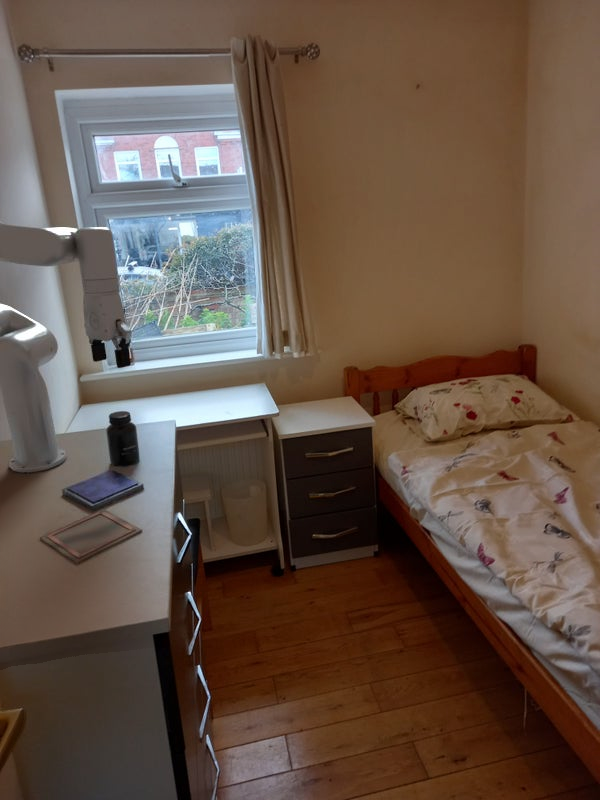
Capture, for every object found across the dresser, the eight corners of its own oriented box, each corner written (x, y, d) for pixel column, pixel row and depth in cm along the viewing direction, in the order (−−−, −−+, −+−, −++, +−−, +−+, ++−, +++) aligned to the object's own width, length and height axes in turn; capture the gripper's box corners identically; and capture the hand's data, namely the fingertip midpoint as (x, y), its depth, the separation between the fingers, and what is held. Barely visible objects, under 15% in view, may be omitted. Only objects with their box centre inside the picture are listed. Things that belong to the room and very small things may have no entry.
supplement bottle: (132, 468, 131) (125, 419, 128) (105, 466, 133) (97, 418, 129) (145, 456, 138) (139, 409, 134) (119, 454, 139) (112, 408, 135)
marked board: (40, 539, 103) (39, 536, 103) (103, 510, 112) (103, 507, 112) (77, 564, 95) (76, 561, 95) (142, 531, 104) (142, 528, 104)
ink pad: (62, 494, 120) (61, 488, 119) (112, 474, 128) (111, 468, 128) (93, 511, 112) (91, 504, 112) (143, 488, 121) (143, 482, 120)
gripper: (64, 286, 125) (76, 361, 130) (107, 291, 114) (118, 373, 119) (95, 282, 130) (105, 355, 136) (139, 287, 119) (148, 365, 125)
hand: (111, 363), depth 128 cm, fingers open, 9 cm apart
